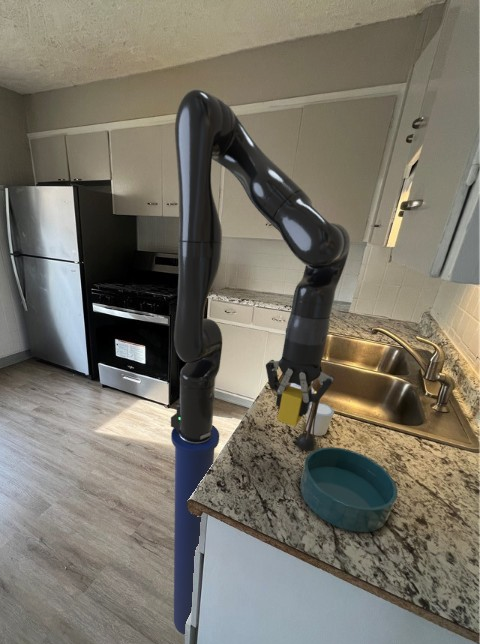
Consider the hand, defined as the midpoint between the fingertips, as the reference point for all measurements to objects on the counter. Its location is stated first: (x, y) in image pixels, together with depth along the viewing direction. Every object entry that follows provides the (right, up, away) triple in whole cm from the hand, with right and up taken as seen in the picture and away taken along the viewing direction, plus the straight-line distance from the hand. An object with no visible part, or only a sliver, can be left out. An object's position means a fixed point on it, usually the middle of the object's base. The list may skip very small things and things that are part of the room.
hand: (290, 410), depth 68 cm
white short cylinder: (+13, -8, +20) cm, 26 cm away
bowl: (+11, -18, -1) cm, 21 cm away
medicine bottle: (+13, -2, +33) cm, 35 cm away
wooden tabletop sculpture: (+9, -11, +14) cm, 20 cm away
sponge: (0, -2, +1) cm, 2 cm away
